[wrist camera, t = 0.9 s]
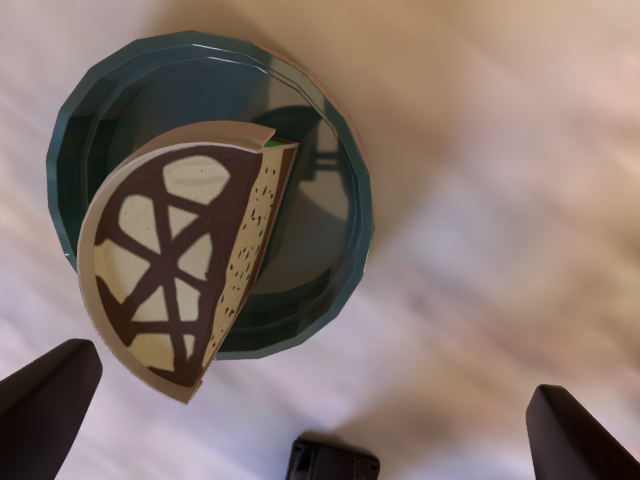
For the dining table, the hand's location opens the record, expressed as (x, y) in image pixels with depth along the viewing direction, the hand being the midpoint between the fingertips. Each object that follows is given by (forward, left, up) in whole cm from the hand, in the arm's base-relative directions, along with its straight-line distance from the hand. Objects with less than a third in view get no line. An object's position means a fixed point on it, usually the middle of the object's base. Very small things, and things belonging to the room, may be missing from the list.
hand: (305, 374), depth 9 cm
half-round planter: (-2, +7, -17) cm, 18 cm away
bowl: (-2, +7, -17) cm, 18 cm away
